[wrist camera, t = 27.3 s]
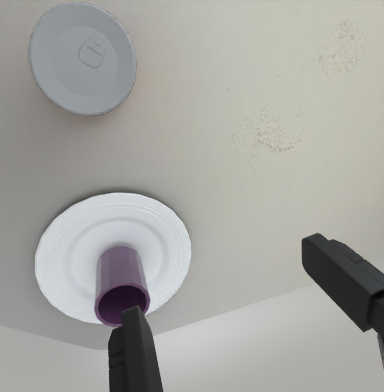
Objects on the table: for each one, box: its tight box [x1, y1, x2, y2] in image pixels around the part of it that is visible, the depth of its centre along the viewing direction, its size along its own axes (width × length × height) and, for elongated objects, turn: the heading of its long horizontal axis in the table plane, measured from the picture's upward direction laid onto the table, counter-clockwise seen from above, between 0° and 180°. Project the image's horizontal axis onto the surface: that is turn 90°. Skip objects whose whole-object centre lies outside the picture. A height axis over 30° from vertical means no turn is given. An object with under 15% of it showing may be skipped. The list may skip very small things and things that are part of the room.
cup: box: [94, 246, 150, 327], centre depth 34 cm, size 6×6×8 cm
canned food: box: [29, 2, 136, 116], centre depth 25 cm, size 8×8×11 cm
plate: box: [35, 192, 192, 324], centre depth 38 cm, size 21×21×2 cm
